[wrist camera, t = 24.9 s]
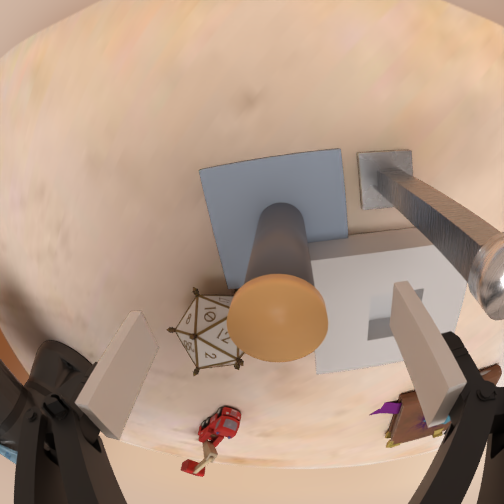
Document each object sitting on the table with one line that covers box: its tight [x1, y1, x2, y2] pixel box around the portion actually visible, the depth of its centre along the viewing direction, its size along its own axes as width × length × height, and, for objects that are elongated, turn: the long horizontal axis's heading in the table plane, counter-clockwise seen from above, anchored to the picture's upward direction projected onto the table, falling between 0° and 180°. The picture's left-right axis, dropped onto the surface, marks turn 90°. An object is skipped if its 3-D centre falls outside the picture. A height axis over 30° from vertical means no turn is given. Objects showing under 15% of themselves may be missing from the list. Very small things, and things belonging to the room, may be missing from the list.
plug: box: [227, 202, 328, 362], centre depth 19 cm, size 5×5×14 cm
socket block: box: [308, 227, 467, 374], centre depth 26 cm, size 16×14×4 cm
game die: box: [167, 287, 245, 376], centre depth 27 cm, size 9×8×10 cm
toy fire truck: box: [181, 407, 241, 477], centre depth 38 cm, size 3×14×10 cm, turn 148°
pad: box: [199, 149, 348, 289], centre depth 26 cm, size 12×12×1 cm
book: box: [370, 365, 502, 448], centre depth 36 cm, size 16×25×5 cm, turn 101°
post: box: [357, 150, 501, 283], centre depth 16 cm, size 5×5×16 cm
